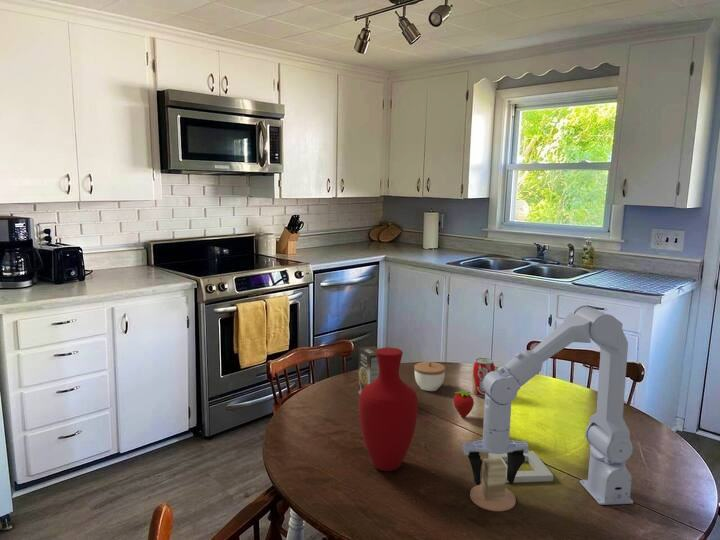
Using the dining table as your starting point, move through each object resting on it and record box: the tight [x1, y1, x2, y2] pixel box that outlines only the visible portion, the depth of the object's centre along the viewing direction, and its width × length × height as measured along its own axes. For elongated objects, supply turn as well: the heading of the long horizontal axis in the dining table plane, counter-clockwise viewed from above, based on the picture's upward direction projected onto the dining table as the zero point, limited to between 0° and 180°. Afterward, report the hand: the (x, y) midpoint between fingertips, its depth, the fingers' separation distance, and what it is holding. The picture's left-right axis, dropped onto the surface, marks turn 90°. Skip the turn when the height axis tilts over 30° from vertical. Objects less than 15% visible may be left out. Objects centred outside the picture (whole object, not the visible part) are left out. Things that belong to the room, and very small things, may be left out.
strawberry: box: [452, 389, 475, 419], centre depth 162 cm, size 6×8×10 cm
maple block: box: [481, 457, 506, 501], centre depth 121 cm, size 4×4×8 cm
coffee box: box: [357, 345, 379, 395], centre depth 177 cm, size 9×6×16 cm
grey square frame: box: [487, 450, 554, 484], centre depth 134 cm, size 12×12×2 cm
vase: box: [358, 346, 419, 472], centre depth 133 cm, size 15×15×30 cm
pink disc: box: [469, 483, 517, 512], centre depth 121 cm, size 10×10×1 cm
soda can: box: [472, 357, 496, 398], centre depth 181 cm, size 7×7×12 cm
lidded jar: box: [413, 361, 446, 392], centre depth 186 cm, size 11×11×9 cm
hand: (493, 482), depth 121 cm, fingers open, 7 cm apart
